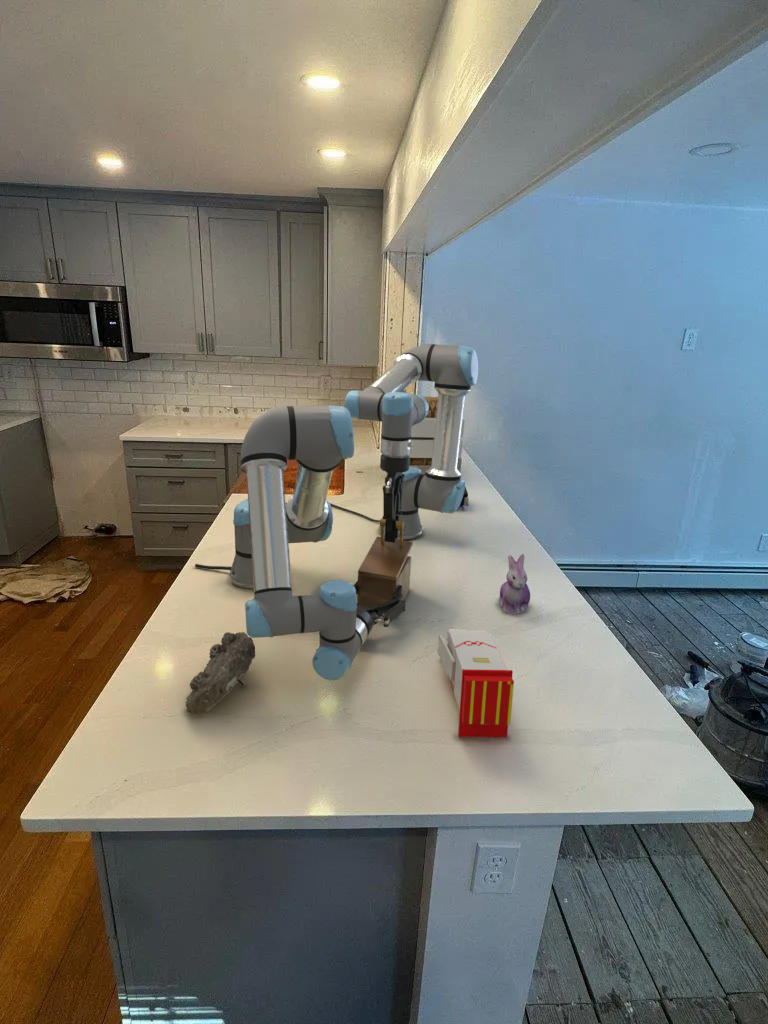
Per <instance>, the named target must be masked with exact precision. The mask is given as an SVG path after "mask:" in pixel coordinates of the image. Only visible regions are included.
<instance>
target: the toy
mask: <svg viewBox="0 0 768 1024" xmlns="http://www.w3.org/2000/svg"><path fill="white" fill-rule="evenodd" d="M446 640H447V643H446V641H445V639H444V636H443V635H442V634H439V637H438V646H437V656H438V657H439V659H440V661H441V663H442V666H443V668H444V670H445V672H446V674H447V677H448V679H449V681H450V684H451V687H452V690H453V693H454V697H455V701H456V705H457V708H458V711H459V714H458V715H459V716H458V730H457V731H458V732H457V737H458V738H508V731H509V726H510V725H511V717H512V707H513V697H514V696H513V695H514V684H515V680H514V679H513V673H514V671H513V670H512V669H508V667H507V665H506V662H505V661H504V659H503V658H502V655H501V653H500V651H499V649H498V647H497V643H496V639H495V637H494V635H493V634H491V632H490V631H489V629H467V628H466V629H465V628H463V629H461V628H460V629H459V628H448V630H447V639H446Z"/></svg>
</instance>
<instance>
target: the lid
mask: <svg viewBox="0 0 768 1024" xmlns="http://www.w3.org/2000/svg"><path fill="white" fill-rule="evenodd" d="M379 520H380V522H378V523H379V526H381V534H380V536H376V538H375V540H374V541H373V543H372V545H371V547H370V548H369V550H368V551H367V554H366V556H365V557H364V559H363V560H362V563H361V564H360V565H359V568H358V570H357V575H358V574H359V575H365V576H371V577H377V578H383V579H389V580H395V581H397V579H398V576H399V574H400V572H401V570H402V567H403V565H404V563H405V561H406V559H407V556H409V554H410V552H411V550H412V548H413V544H414V543H413V541H411V540H403V528H404V522H402V521H396V528H397V529H400V540H397V539H395V543H393V542H387V541H385V537H384V527H385V523H386V519H383V518H380V519H379Z"/></svg>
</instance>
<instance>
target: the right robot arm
mask: <svg viewBox="0 0 768 1024" xmlns="http://www.w3.org/2000/svg"><path fill="white" fill-rule="evenodd" d="M478 378H479V360H478V355H477V351H476V350H475V349H474V348H473V347H470V346H464V345H455V344H454V345H451V344H436V343H435V344H434V343H425V344H424V343H423V344H419V345H417V346H413V347H411V348H410V349H407V350H406V351H404V352H402V353H401V354H399V356H397V357H396V358H395V360H394V361H393V365H392V366H391V367H389V368H388V369H387V370H386V371H385V372H384V373H382V374H381V375H380V376H379V377H377V378H376V379H375V380H374V381H373V382H372V383H370V384H369V385H368V386H367V387H366V388H364V389H363V390H359V389H357V390H354V389H353V390H350V391H348V392H347V394H346V395H345V398H344V407H345V408H347V409H348V410H349V412H350V415H351V419H357V420H362V421H363V420H364V421H371V422H372V421H373V422H381V437H380V454H381V455H380V457H379V458H380V461H379V462H380V463H379V468H380V470H382V471H383V472H386V476H385V478H384V485H382V493H383V498H382V499H383V506H382V508H383V509H382V510H383V512H382V513H383V515H382V518H381V519H386V523H385V527H384V538H385V541H387V542H393V543H395V539H397V540H400V529H397V528H396V521H402V522H404V528H403V540H404V541H411V540H415V539H418V538H420V537H421V536H422V535H423V525H422V524H421V518H420V515H419V509H420V510H421V509H422V510H427V511H433V512H438V513H441V514H443V513H445V514H454V513H456V512H457V511H458V509H459V508H460V507H459V506H460V503H461V501H462V498H463V494H464V490H465V487H466V481H465V480H463V479H461V478H462V473H460V472H459V471H458V470H457V463H458V454H459V445H460V439H461V438H460V436H461V427H462V419H464V408H465V400H466V395H467V394H469V393H470V392H471V389H472V386H475V385H476V384H477V382H478ZM418 381H420V382H421V381H423V382H432V383H434V386H433V387H434V390H435V391H436V393H437V397H438V403H437V413H436V423H435V433H434V443H433V454H432V464H431V465H430V466H429V468H427V469H426V471H425V474H424V473H423V474H422V470H421V468H419V467H416V466H409V464H410V457H409V454H410V447H412V446H413V444H412V443H410V441H411V429H412V426H413V425H415V424H417V423H420V422H422V420H423V419H425V418H426V416H427V414H428V411H429V406H428V402H427V401H426V399H425V398H424V397H425V396H423V395H421V394H411V393H408V392H406V393H403V392H402V391H403V390H406V389H407V387H409V385H412V384H413V385H414V384H415V383H417V382H418ZM287 487H288V488H292V489H293V490H294V489H295V486H293V485H290V484H287ZM329 503H330V505H331V507H334V508H336V509H340V510H342V511H346V512H348V513H350V514H354V515H357V516H360V517H362V518H365V519H367V520H368V521H371V522H375V523H380V519H375V518H371V517H369V516H367V515H364V514H363V513H361V512H360V513H359V512H356V511H354V510H351V509H348V508H345V507H342V506H339V505H336V504H334V503H331V502H329ZM378 533H379V534H380V535H381V526H380V525H379V526H378Z"/></svg>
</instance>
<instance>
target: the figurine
mask: <svg viewBox="0 0 768 1024" xmlns="http://www.w3.org/2000/svg"><path fill="white" fill-rule="evenodd" d="M507 561H508V562H507V563H508V571H507V573H506V576H505V578H506V581H505V582H504V583H503V584H501V586H500V588H499V589H500V590H499V598H498V605H499V607H500V608H501V609H502V611H503V612H504V613H507V614H511V615H518V614H519V613H525V612H526V611H527V609H528V607H529V604H530V601H531V591H530V588H529V585H528V584H527V582H528V575H527V571H526V570H525V568H524V567H525V566H524V563H525V554H524V553H521V554H520V555H519V557H518V558H517V560H515V559H514V557H513V556H512V555H511V554H509V555H508V556H507Z"/></svg>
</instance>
